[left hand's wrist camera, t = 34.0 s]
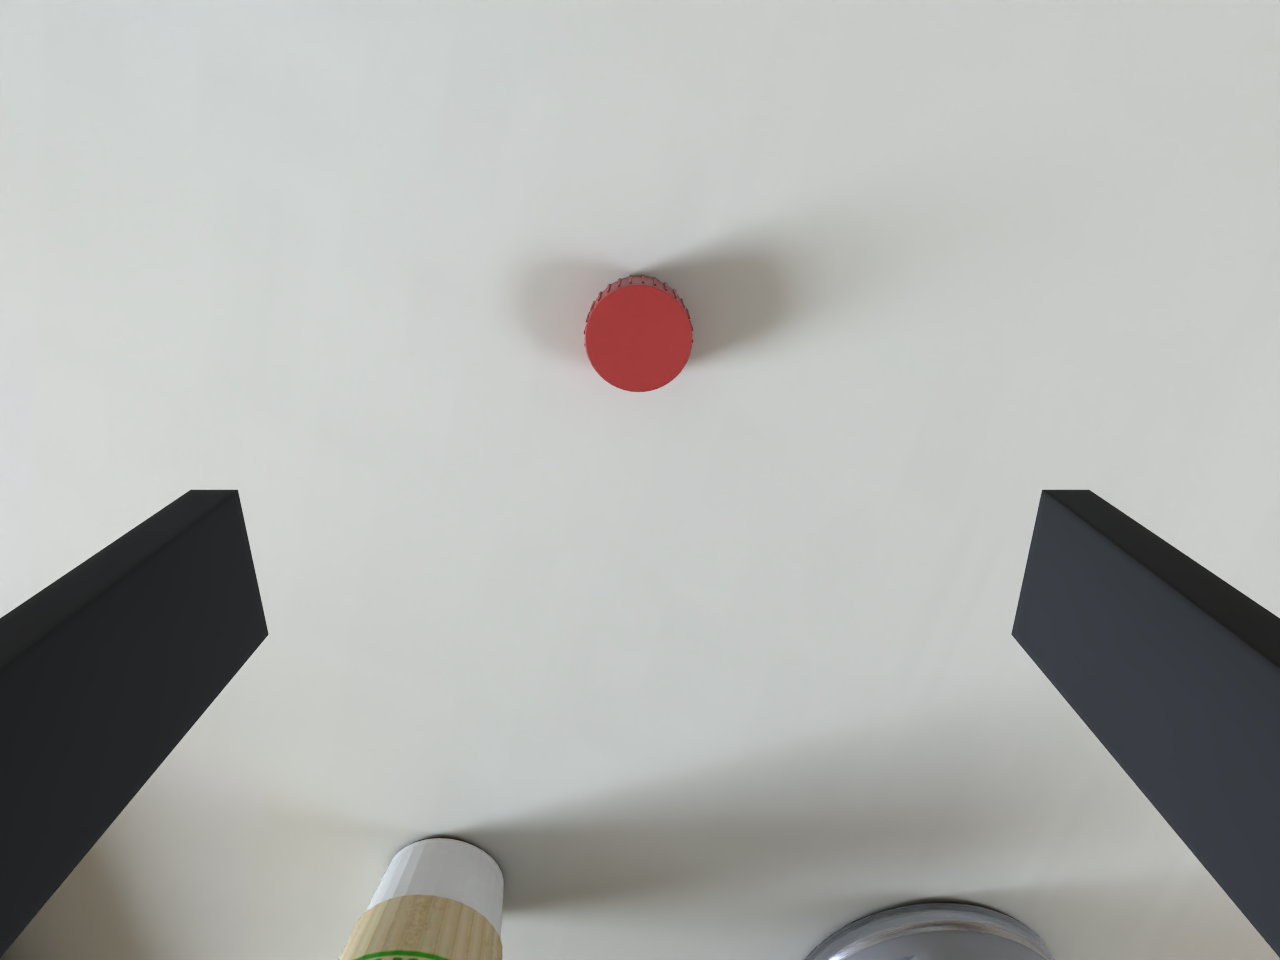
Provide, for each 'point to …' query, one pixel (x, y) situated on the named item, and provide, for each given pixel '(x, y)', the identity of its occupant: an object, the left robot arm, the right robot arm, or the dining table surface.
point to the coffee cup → (433, 906)
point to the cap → (638, 334)
